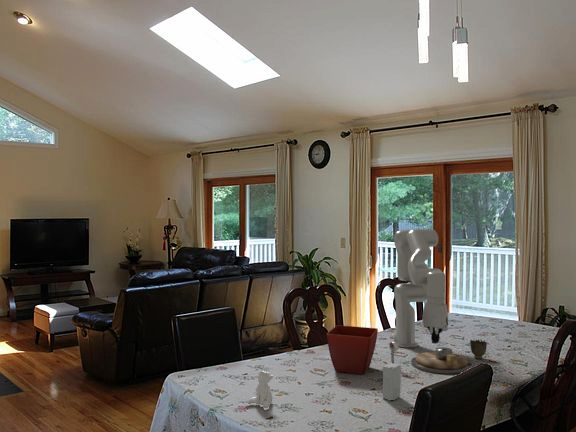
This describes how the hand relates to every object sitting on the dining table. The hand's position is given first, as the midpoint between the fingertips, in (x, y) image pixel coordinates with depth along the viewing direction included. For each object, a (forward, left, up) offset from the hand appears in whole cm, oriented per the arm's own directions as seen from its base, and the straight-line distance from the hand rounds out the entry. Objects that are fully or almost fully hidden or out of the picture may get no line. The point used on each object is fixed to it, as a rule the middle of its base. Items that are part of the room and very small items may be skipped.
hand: (435, 342), depth 224 cm
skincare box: (+3, -42, -12) cm, 44 cm away
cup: (+6, +31, -12) cm, 34 cm away
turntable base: (-2, +9, -12) cm, 15 cm away
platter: (-1, +9, -11) cm, 14 cm away
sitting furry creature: (-28, -78, -12) cm, 84 cm away
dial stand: (-16, -9, -12) cm, 22 cm away
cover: (-1, +10, -9) cm, 13 cm away
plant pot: (-28, -22, -12) cm, 37 cm away
